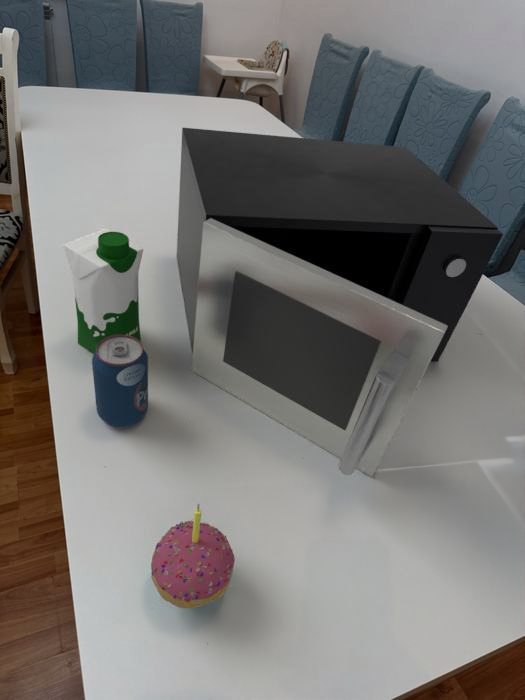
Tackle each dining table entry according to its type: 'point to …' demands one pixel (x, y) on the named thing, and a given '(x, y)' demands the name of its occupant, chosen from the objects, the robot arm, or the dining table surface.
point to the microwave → (336, 216)
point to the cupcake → (192, 564)
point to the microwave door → (308, 345)
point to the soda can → (120, 380)
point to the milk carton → (105, 286)
